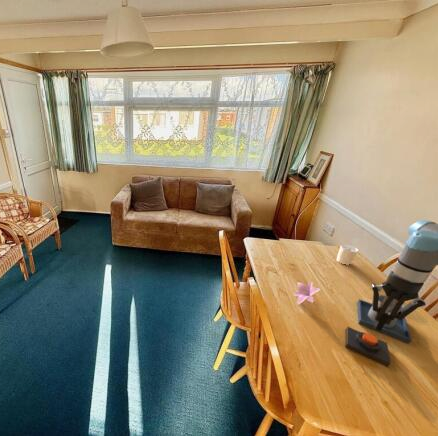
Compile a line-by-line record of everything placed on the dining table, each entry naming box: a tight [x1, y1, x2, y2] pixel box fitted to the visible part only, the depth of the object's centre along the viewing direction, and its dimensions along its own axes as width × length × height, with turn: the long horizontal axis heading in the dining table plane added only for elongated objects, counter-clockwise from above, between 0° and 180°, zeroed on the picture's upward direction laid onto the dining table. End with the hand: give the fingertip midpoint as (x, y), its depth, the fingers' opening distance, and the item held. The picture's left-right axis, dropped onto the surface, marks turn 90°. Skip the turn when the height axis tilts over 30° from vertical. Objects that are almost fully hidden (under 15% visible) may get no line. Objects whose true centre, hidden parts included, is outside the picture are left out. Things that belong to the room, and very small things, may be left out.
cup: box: [368, 294, 406, 328], centre depth 97 cm, size 8×8×10 cm
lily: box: [293, 281, 321, 306], centre depth 109 cm, size 12×12×10 cm
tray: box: [356, 298, 412, 345], centre depth 98 cm, size 15×15×2 cm
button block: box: [344, 326, 391, 368], centre depth 87 cm, size 12×10×4 cm
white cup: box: [336, 244, 359, 266], centre depth 136 cm, size 8×8×10 cm
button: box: [362, 332, 378, 346], centre depth 86 cm, size 4×4×2 cm
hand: (377, 327), depth 83 cm, fingers closed
